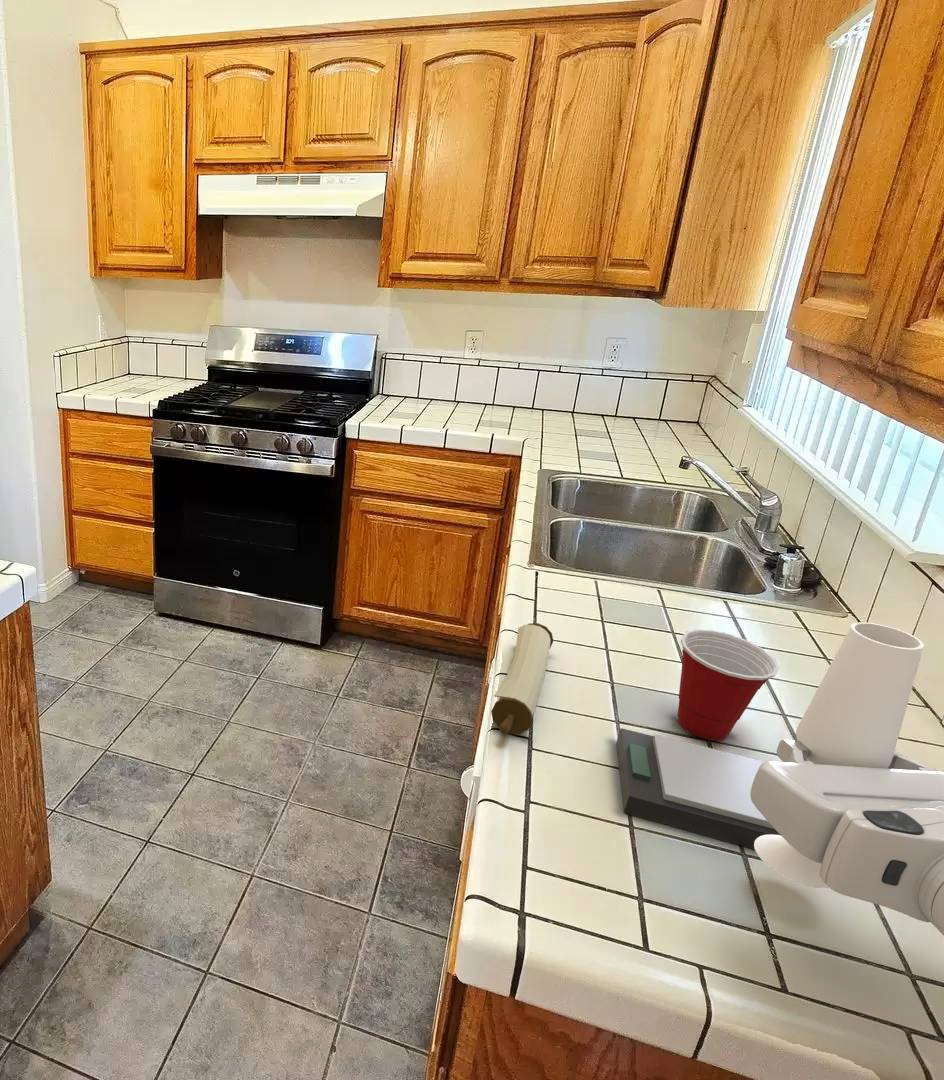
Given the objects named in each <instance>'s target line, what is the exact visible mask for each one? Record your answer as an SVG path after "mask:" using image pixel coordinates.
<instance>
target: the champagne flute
mask: <svg viewBox="0 0 944 1080" xmlns="http://www.w3.org/2000/svg"><path fill="white" fill-rule="evenodd" d="M924 648H925V644H924V642H923V641H922V640H921V639H919V638H918V637H916V636H915V635H913V634H911V633H909V632H906V631H903V630H902V629H899V628H896V627H892V626H888V625H885V624H880V623H875V622H866V621H865V622H863V621H862V622H861V621H860V622H854V623H852V624H851V625H850V627H849V629H848V631H847V633H846V634H845V636H844V638H843V640H842V642H841V644H840V646H839V648H838V649H837V652H836V654H835V655H834V657H833V659H832V661H831V663H830V665H829V666H828V668H827V670H826V673H825V674H824V676H823V678H822V679H821V681H820V684H819V685H818V687H817V689H816V690H815V692H814V695H813V697H812V698H811V700H810V702H809V704H808V706H807V708H806V710H805V711H804V713H803V715H802V717H801V719H800V721H799V723H798V724H797V727H796V730H795V737H796V741H800V742H801V743H802V745H804V746H806V747H807V748H808V749H809V750H810V751H811V752H810V754H809V757H808V758H807V759H806V761H811V762H813V763H814V764H819V765H836V766H852V767H868V768H884V769H887V768H888V767H889V766H890V764H891V762H892V758H893V755H894V751H895V749H896V747H897V744H898V740H899V737H900V733H901V730H902V727H903V726H902V725H903V722H904V718H905V716H906V715H905V714H906V712H907V707H908V704H909V701H910V697H911V693H912V690H913V686H914V684H915V680H916V676H917V672H918V669H919V665H920V661H921V657H922V655H923V652H924ZM754 848H755V849H754V850H755V851H754V852H755V853H756V855H757V856H758V857H759V859H760V860H761V861H762V862H763V863H764V864H766V866H768V867H769V868H770V869H771V870H772V871H774V872H776V873H778V874H779V875H781V876H783V877H785V878H786V879H789V880H791V881H792V882H795V883H797V884H801V885H804V886H807V887H812V888H818V889H826V888H827V889H828V888H829V887H828V886H827V885H826V883H825V882H824V881H823V880H822V879H821V877H820V875H819V873H820V869H821V864H820V863H817V862H815V861H813V860H811V859H809V858H807V857H805V856H804V855H802V854H801V853H800V852H798V851H797V850H796V849H794V848H793V847H792V846H791V845H790V844H789V843H788V842H787V841H786V840H785V839H784V838H783V837H782V836H780V835H772V834H771V835H763V836H760V837H758V838H757V839H756V840H755V842H754ZM829 889H830V888H829Z"/></svg>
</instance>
